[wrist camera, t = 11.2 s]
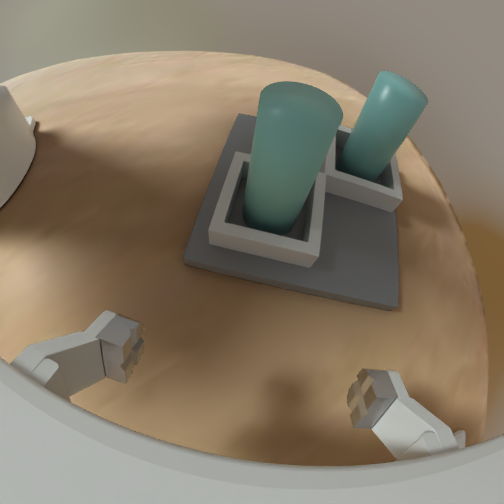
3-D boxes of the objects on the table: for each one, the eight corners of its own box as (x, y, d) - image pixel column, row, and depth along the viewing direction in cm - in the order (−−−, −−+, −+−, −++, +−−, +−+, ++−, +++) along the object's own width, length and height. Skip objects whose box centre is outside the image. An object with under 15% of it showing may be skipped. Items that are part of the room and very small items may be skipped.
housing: (184, 264, 19) (154, 150, 9) (237, 122, 26) (248, 23, 16) (389, 310, 20) (497, 252, 9) (383, 163, 26) (433, 84, 16)
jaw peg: (236, 229, 20) (252, 115, 11) (249, 186, 21) (267, 75, 12) (292, 243, 20) (343, 140, 11) (298, 198, 21) (341, 94, 12)
